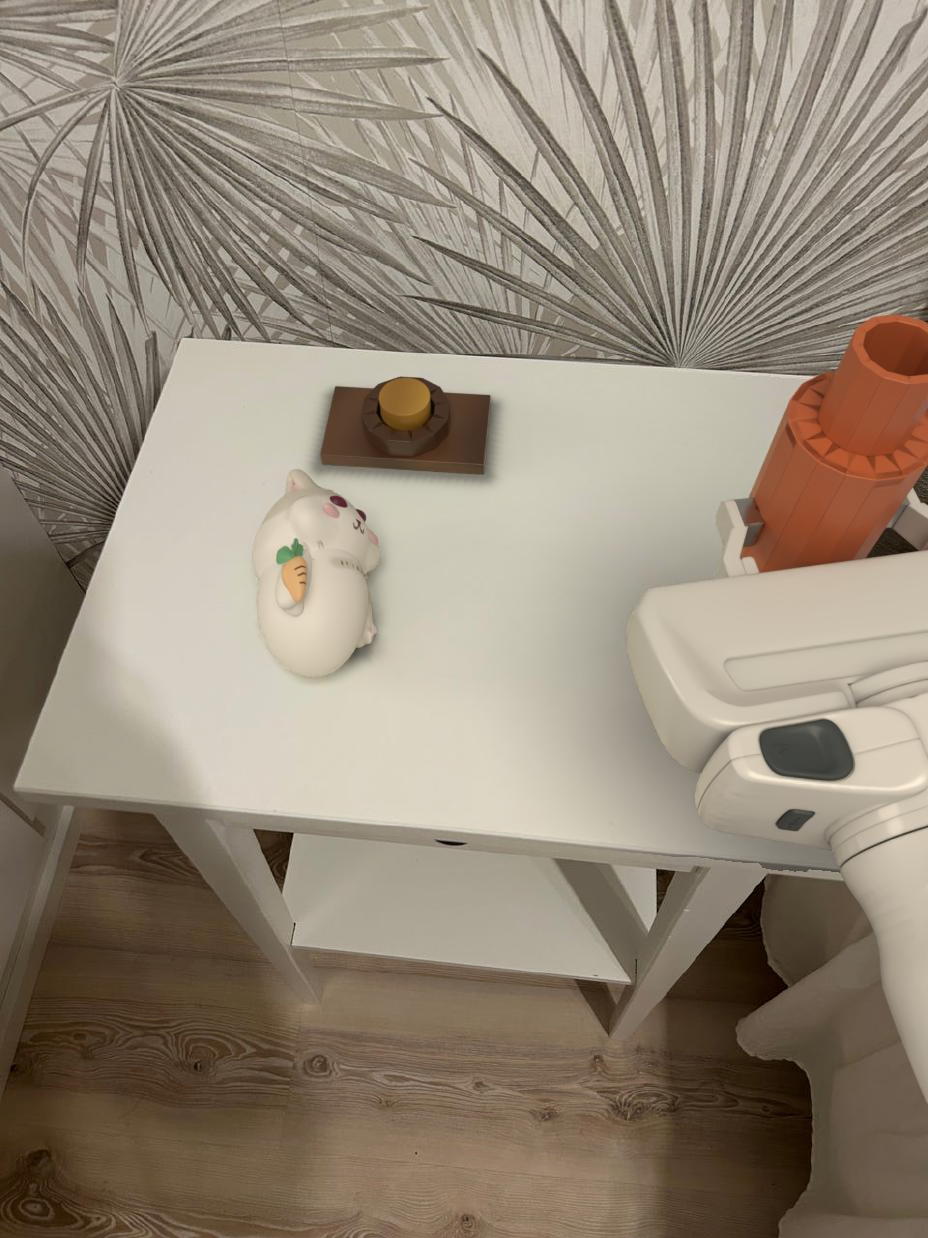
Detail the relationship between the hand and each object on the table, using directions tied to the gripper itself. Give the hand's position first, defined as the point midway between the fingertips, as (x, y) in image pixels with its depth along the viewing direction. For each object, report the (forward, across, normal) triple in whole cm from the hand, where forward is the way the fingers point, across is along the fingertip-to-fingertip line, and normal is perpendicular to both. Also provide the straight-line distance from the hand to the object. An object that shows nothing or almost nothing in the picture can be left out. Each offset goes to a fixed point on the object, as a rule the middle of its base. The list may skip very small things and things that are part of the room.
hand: (807, 496), depth 42 cm
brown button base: (+26, +18, +22) cm, 38 cm away
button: (+27, +17, +19) cm, 37 cm away
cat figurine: (+12, +26, +22) cm, 35 cm away
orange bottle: (-1, 0, +12) cm, 12 cm away
